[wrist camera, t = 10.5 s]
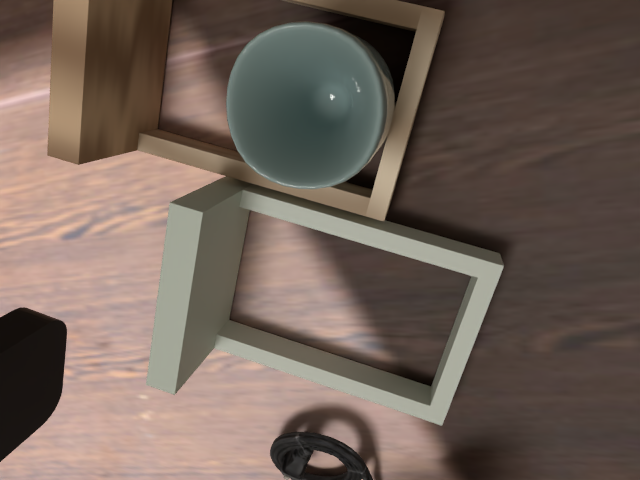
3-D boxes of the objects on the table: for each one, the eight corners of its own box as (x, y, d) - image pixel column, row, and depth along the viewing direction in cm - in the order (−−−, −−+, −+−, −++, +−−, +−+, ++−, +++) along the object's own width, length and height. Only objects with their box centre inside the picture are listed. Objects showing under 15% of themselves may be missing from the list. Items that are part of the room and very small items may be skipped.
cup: (281, 155, 35) (223, 183, 26) (285, 32, 33) (222, 16, 23) (395, 165, 34) (377, 199, 24) (408, 38, 31) (393, 22, 22)
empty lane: (228, 175, 36) (169, 202, 28) (500, 253, 34) (516, 307, 26) (203, 325, 41) (146, 384, 33) (442, 405, 38) (441, 490, 30)
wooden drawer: (149, -52, 33) (57, -92, 25) (444, 15, 30) (444, -5, 22) (130, 138, 37) (47, 155, 29) (387, 212, 34) (371, 252, 27)
